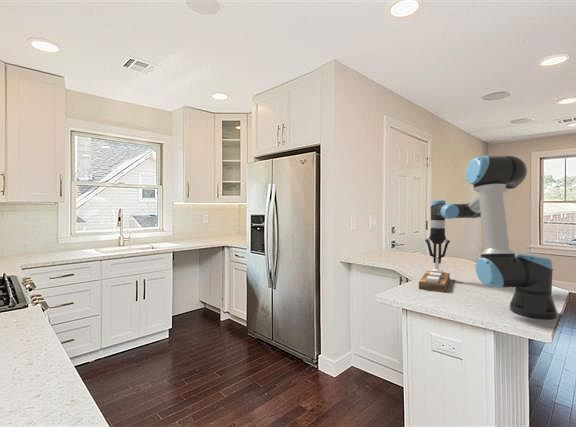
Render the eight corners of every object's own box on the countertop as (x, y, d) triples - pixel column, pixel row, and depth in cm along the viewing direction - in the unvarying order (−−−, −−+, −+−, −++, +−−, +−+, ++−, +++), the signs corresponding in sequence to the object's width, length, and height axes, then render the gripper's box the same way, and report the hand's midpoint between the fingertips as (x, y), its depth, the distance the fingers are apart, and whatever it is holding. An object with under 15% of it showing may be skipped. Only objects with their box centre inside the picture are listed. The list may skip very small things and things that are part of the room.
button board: (444, 292, 158) (444, 284, 158) (418, 289, 165) (418, 281, 164) (449, 279, 184) (449, 272, 184) (426, 276, 190) (427, 270, 190)
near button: (438, 284, 162) (438, 279, 162) (426, 283, 165) (426, 278, 165) (439, 282, 167) (439, 277, 167) (427, 281, 169) (427, 275, 169)
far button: (441, 276, 179) (442, 271, 179) (431, 275, 182) (431, 270, 182) (442, 274, 184) (442, 269, 184) (432, 273, 187) (432, 268, 187)
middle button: (440, 280, 171) (440, 275, 171) (429, 279, 173) (429, 274, 173) (441, 278, 175) (441, 273, 175) (430, 276, 178) (430, 272, 178)
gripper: (451, 227, 182) (450, 268, 183) (426, 226, 188) (425, 266, 189) (450, 228, 175) (449, 271, 176) (424, 227, 182) (423, 269, 183)
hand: (437, 268), depth 183 cm, fingers closed
